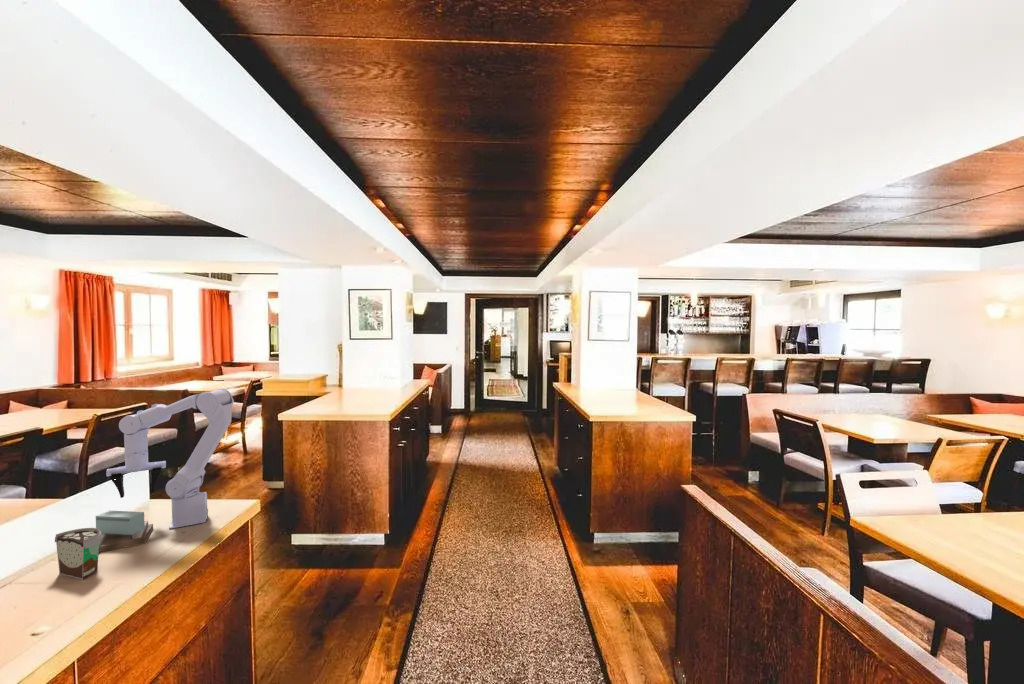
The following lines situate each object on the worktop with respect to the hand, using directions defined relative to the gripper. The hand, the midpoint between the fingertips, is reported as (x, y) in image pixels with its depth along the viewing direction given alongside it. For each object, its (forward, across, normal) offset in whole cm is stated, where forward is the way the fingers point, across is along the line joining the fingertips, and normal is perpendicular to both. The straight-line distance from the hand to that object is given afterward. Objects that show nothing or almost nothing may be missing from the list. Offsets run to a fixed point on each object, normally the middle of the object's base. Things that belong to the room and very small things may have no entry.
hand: (138, 494), depth 145 cm
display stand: (+10, -3, -12) cm, 16 cm away
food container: (+10, -8, -29) cm, 32 cm away
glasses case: (+7, -3, -12) cm, 14 cm away
